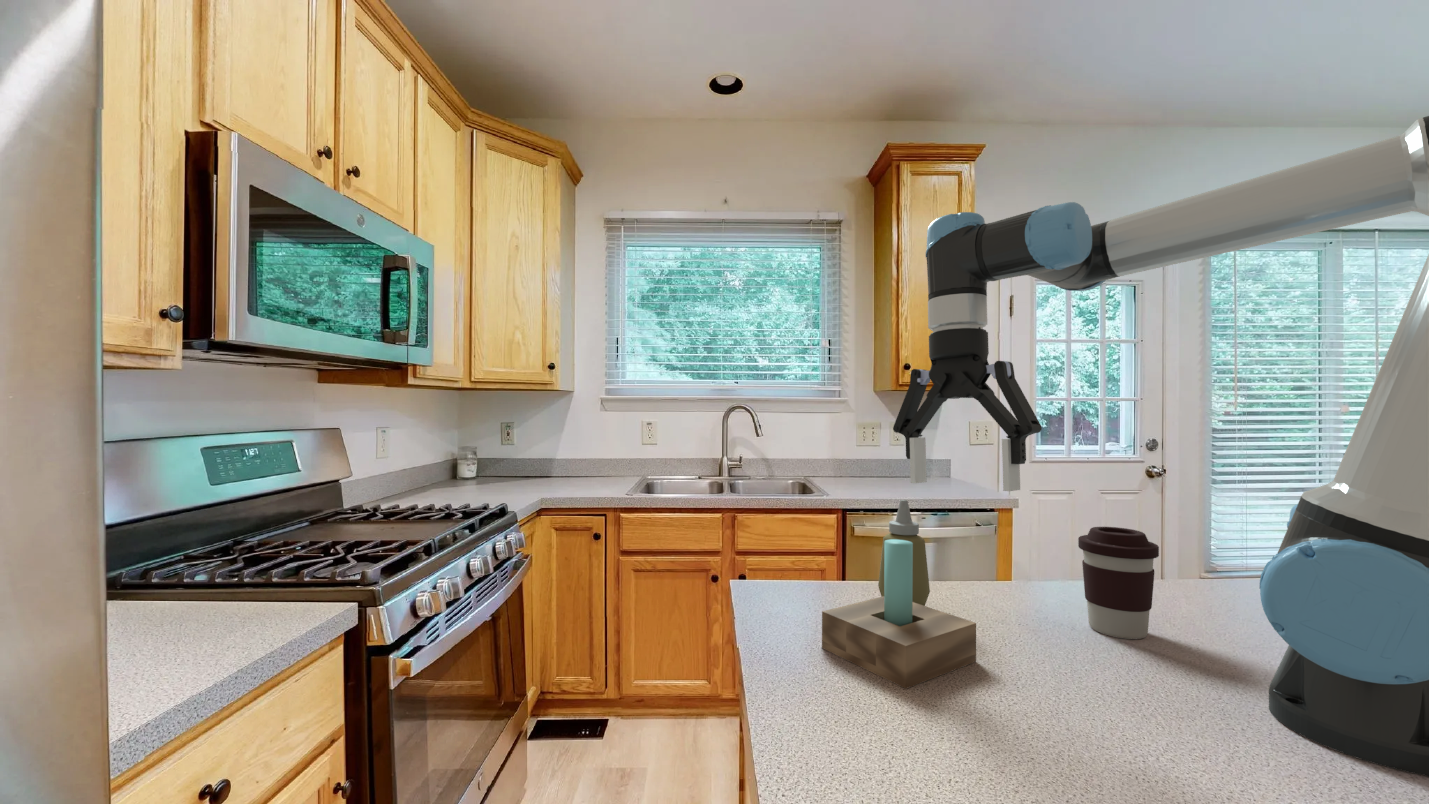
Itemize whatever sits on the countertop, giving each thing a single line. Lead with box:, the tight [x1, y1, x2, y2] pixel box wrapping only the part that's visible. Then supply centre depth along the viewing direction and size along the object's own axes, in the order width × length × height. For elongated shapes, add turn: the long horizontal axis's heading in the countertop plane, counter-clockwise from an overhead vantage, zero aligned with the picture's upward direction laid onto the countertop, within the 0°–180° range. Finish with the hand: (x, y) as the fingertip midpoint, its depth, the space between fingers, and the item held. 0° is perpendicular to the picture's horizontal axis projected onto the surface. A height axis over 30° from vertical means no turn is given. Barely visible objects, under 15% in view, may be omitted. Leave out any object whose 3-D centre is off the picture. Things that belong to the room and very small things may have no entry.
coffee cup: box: [1077, 526, 1160, 640], centre depth 88 cm, size 10×10×15 cm
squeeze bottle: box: [878, 499, 931, 606], centre depth 96 cm, size 8×8×18 cm
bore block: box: [821, 596, 977, 690], centre depth 78 cm, size 14×14×5 cm
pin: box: [884, 539, 913, 626], centre depth 78 cm, size 4×4×14 cm
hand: (962, 486), depth 79 cm, fingers open, 13 cm apart
